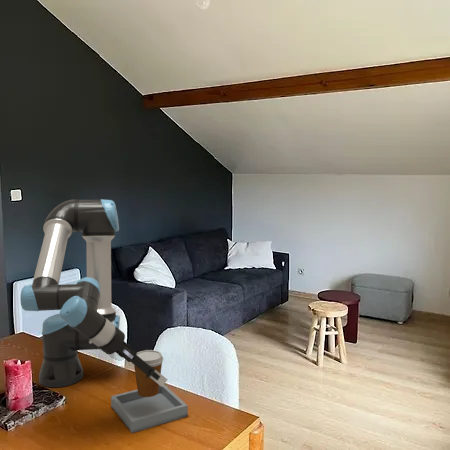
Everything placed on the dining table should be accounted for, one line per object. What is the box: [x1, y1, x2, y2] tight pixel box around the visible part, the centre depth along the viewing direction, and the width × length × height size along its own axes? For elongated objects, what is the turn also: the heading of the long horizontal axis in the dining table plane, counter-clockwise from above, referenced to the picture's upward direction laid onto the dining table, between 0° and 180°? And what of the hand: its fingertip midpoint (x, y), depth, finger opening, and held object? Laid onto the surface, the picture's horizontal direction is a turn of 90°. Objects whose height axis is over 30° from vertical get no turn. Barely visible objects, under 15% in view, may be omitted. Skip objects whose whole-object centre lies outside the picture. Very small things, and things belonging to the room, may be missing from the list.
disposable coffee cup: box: [133, 349, 164, 397], centre depth 145 cm, size 10×10×12 cm
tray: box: [110, 384, 189, 434], centre depth 147 cm, size 18×18×4 cm
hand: (157, 376), depth 147 cm, fingers closed on disposable coffee cup, 9 cm apart
